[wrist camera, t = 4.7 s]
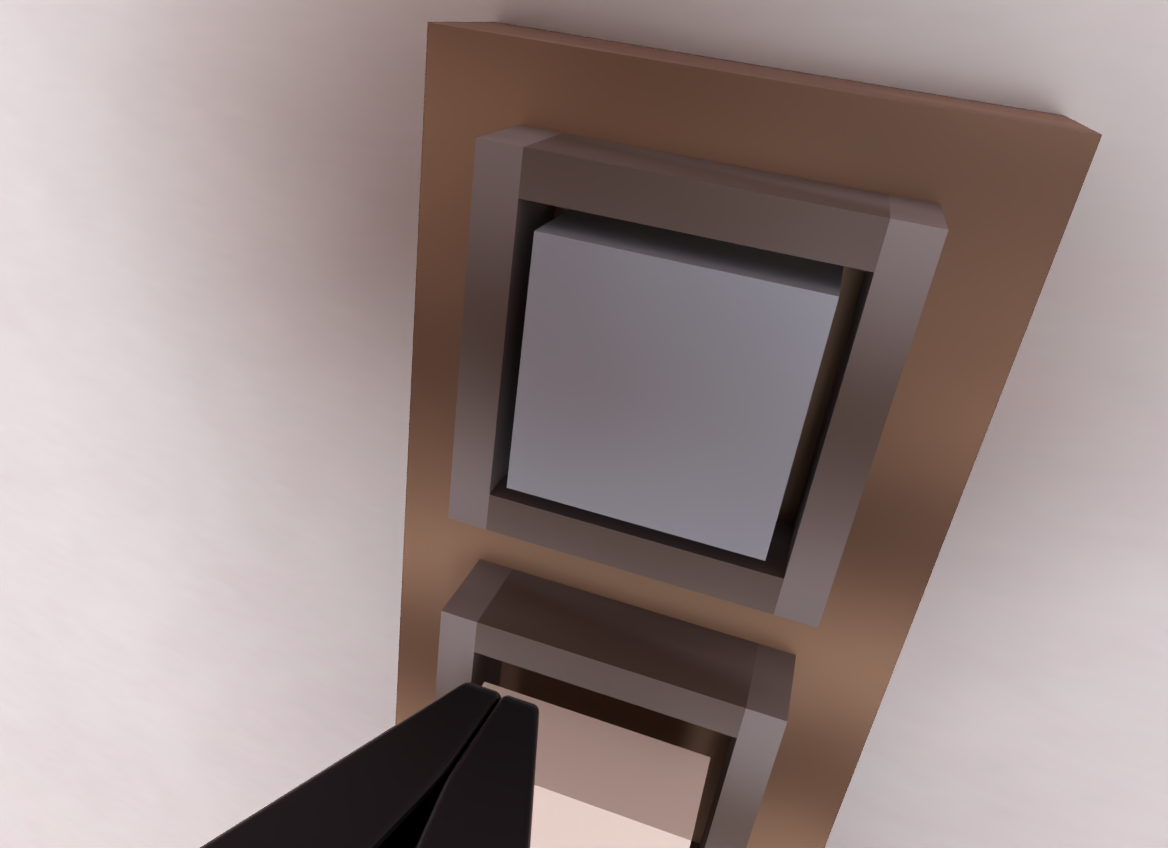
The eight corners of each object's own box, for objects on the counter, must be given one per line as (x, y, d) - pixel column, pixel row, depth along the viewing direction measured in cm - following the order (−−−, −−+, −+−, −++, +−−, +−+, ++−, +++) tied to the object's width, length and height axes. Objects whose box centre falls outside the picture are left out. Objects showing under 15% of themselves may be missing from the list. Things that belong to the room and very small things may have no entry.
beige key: (667, 911, 19) (646, 999, 17) (468, 835, 20) (429, 912, 18) (710, 757, 17) (691, 840, 15) (484, 681, 18) (442, 752, 16)
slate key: (777, 504, 17) (765, 561, 15) (543, 442, 18) (506, 487, 16) (844, 263, 15) (839, 296, 13) (572, 207, 16) (534, 230, 14)
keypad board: (728, 1032, 29) (701, 1212, 24) (424, 911, 31) (351, 1056, 27) (1064, 115, 15) (1136, 152, 11) (494, 21, 18) (369, 21, 13)
